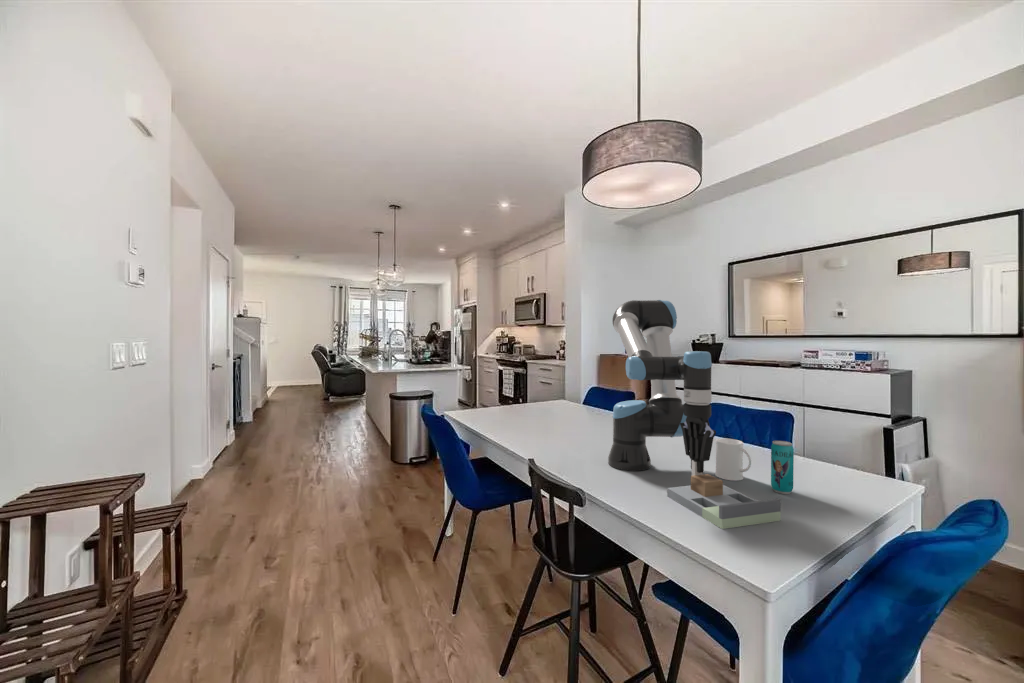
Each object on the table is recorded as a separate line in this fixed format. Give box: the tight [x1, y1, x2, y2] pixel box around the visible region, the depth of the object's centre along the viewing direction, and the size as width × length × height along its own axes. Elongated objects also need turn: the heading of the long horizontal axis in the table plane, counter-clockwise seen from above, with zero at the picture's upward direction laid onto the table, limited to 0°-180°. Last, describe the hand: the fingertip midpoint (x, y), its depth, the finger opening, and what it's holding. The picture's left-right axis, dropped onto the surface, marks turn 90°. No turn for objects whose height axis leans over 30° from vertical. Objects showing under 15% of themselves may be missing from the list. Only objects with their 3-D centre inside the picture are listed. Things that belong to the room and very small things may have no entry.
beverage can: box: [770, 440, 795, 495], centre depth 128 cm, size 6×6×15 cm
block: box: [690, 473, 724, 497], centre depth 121 cm, size 6×6×4 cm
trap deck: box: [666, 484, 782, 530], centre depth 116 cm, size 22×18×5 cm
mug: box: [714, 437, 752, 482], centre depth 140 cm, size 12×8×12 cm
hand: (697, 482), depth 125 cm, fingers closed
